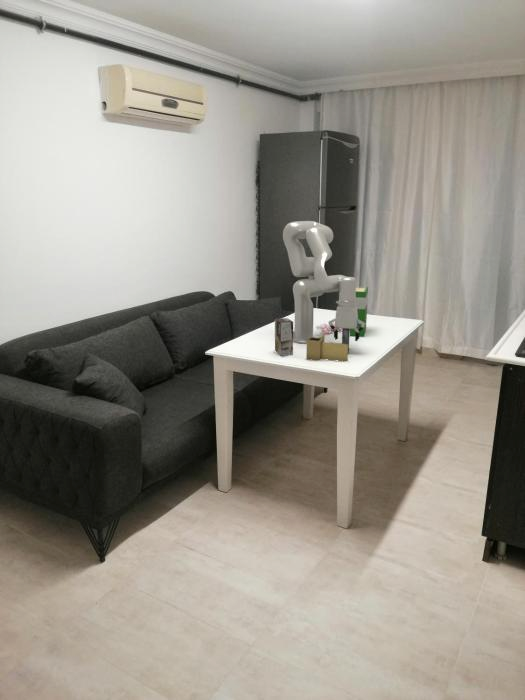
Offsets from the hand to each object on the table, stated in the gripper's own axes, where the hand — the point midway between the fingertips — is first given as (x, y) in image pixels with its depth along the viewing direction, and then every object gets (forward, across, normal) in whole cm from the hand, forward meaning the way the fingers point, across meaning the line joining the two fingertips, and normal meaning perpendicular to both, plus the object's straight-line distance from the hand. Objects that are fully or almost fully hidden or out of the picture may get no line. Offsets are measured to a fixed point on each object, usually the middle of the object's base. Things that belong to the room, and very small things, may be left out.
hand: (346, 339), depth 259 cm
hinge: (+6, -6, -8) cm, 11 cm away
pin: (+6, 0, 0) cm, 6 cm away
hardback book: (+6, -2, +41) cm, 42 cm away
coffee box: (+6, -28, -11) cm, 30 cm away
